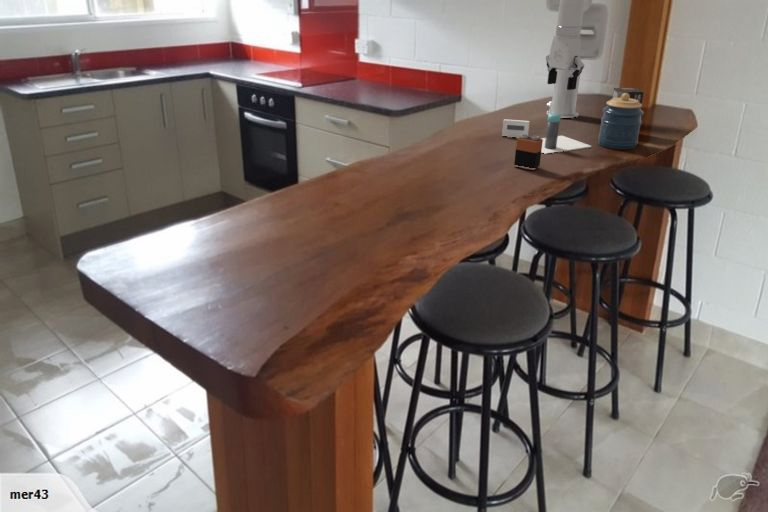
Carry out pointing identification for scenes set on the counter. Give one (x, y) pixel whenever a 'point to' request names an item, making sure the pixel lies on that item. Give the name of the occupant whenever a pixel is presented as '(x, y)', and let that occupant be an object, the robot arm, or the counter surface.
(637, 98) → the coffee box
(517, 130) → the word card
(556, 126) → the marker
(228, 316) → the counter surface
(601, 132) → the canister
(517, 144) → the battery
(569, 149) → the paper
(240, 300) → the counter surface
